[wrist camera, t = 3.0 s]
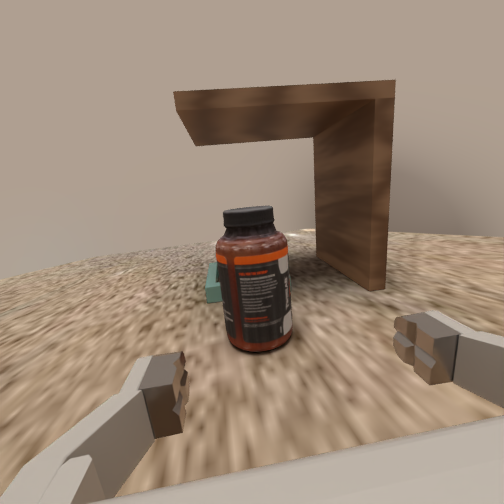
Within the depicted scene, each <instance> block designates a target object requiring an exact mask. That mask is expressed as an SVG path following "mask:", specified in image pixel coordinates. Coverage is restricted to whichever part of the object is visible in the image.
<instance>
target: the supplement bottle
mask: <svg viewBox="0 0 504 504" xmlns="http://www.w3.org/2000/svg"><path fill="white" fill-rule="evenodd" d="M223 217H224V226H225V227H226V232H225V234H224V236H223V237H221V238H220V239H219V240H218V242H217V244H216V258H217V266H218V273H219V280H220V288H221V295H222V302H223V309H224V316H225V324H226V330H227V335H228V338H229V340H230V342H231V343H232V344H233V345H235V346H236V347H238V348H240V349H243V350H246V351H253V352H258V351H267V350H271V349H274V348H277V347H278V346H281V345H282V344H284V343H285V342H286V341H287V340H288V339H289V338H290V336H291V334H292V311H291V308H292V307H291V293H290V278H289V258H288V246H287V240H286V237H285V236H284V235H283V234H282V233H281V232H278V231H276V229H275V226H274V224H273V222H274V216H273V207H272V206H256V207H246V208H237V209H231V210H226V211H224V212H223Z"/></svg>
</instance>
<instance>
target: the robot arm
mask: <svg viewBox="0 0 504 504" xmlns="http://www.w3.org/2000/svg"><path fill="white" fill-rule="evenodd" d="M394 328H395V329H396V331H397V333H396V334H395V336H394V337H393V346H394V349H395V351H396V353H397V355H398V356H399V358H400V359H401V360H402V361H403V362H404V363H407V364H409V365H411V366H413V368H414V372H415V373H416V374H418V375H419V376H420V377H421V378H422V379H423V380H424V381H425V382H426V383H427V384H429V385H435V384H441V383H448V382H453V383H454V384H456V385H458V386H460V387H462V388H464V389H466V390H468V391H470V392H472V393H474V394H476V395H478V396H480V397H482V398H484V399H486V400H488V401H490V402H492V403H494V404H496V405H498V406H500V407H502V408H504V337H502V336H498V335H494V334H490V333H486V332H482V331H479V332H476V331H474V330H472V329H471V328H469V327H467V326H465V325H463V324H461V323H459V322H457V321H455V320H454V319H452V318H450V317H448V316H446V315H444V314H442V313H440V312H439V311H434V310H432V311H426V312H421V313H418V314H412V315H406V316H401V317H396V319H395V321H394ZM185 362H186V361H185V356H184V353H183V352H182V351H181V352H174V353H167V354H160V355H154V356H153V355H152V356H146V357H140V358H138V359H137V360H136V362H135V364H134V366H133V367H132V369H131V371H130V373H129V375H128V377H127V379H126V381H125V382H124V384H123V386H122V388H121V390H120V392H119V394H115V395H113V396H111V397H110V398H109V399H108V400H106V401H105V402H104V403H102V404H101V405H100V406H99V407H97V408H96V409H95V410H94V411H92V412H91V413H90V414H89V415H87V416H86V417H85V418H83V419H82V420H81V421H80V422H78V423H77V424H76V425H75V426H73V427H72V428H71V429H70V430H68V431H67V432H66V433H64V434H63V435H62V436H61V437H59V438H58V439H57V440H56V441H54V442H53V443H52V444H51V445H49V446H48V447H47V448H45V449H44V450H43V451H42V452H40V453H39V454H38V455H37V456H35V457H34V458H33V459H32V460H30V461H29V462H28V463H26V464H25V465H24V466H23V467H22V469H21V470H20V471H19V473H18V474H17V476H16V477H15V478H14V480H13V481H12V482H11V484H10V485H9V486H8V488H7V489H6V490H5V492H4V493H3V494H2V496H1V497H0V504H504V415H502V416H498V417H493V418H488V419H483V420H479V421H474V422H469V423H464V424H460V425H455V426H450V427H445V428H441V429H436V430H431V431H426V432H421V433H417V434H412V435H407V436H403V437H398V438H393V439H388V440H384V441H379V442H374V443H370V444H365V445H360V446H355V447H351V448H346V449H341V450H337V451H332V452H327V453H322V454H318V455H313V456H308V457H304V458H299V459H294V460H289V461H285V462H280V463H275V464H271V465H266V466H261V467H256V468H252V469H247V470H242V471H238V472H233V473H228V474H223V475H219V476H214V477H209V478H205V479H200V480H195V481H190V482H186V483H181V484H176V485H171V486H167V487H162V488H157V489H153V490H148V491H143V492H138V493H134V494H129V495H124V496H120V497H115V498H114V496H115V495H116V494H117V492H118V491H119V490H120V488H121V487H122V485H123V484H124V483H125V481H126V480H127V479H128V477H129V476H130V474H131V473H132V472H133V470H134V469H135V468H136V466H137V465H138V463H139V462H140V461H141V459H142V458H143V456H144V455H145V454H146V452H147V451H148V450H149V448H150V447H151V445H152V444H153V443H154V441H155V439H157V438H162V437H166V436H171V435H175V434H180V433H183V429H184V423H185V418H186V410H185V405H186V404H187V402H188V400H189V386H190V385H189V376H188V372H187V371H186V370H185V369H184V367H185Z"/></svg>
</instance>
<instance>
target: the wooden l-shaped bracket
mask: <svg viewBox="0 0 504 504" xmlns="http://www.w3.org/2000/svg"><path fill="white" fill-rule="evenodd" d="M395 82H396V81H395V80H382V81H363V82H344V83H328V84H307V85H288V86H270V87H251V88H233V89H214V90H194V91H177V92H176V91H175V92H173V93H174V99H175V106H176V111H177V113H178V115H179V116H180V119H181V120H182V122H183V124H184V126H185V128H186V129H187V131H188V133H189V135H190V137H191V139H192V140H193V142H194V144H195V146H204V145H217V144H232V143H244V142H257V141H271V140H283V139H298V138H310V137H313V139H314V140H313V143H314V180H315V216H316V217H315V218H316V256H317V257H318V258H320V259H321V260H323V261H324V262H326V263H327V264H329V265H330V266H332V267H333V268H335V269H336V270H338V271H339V272H341V273H342V274H344V275H345V276H347V277H348V278H350V279H351V280H353V281H354V282H356V283H358V284H359V285H361V286H362V287H364V288H365V289H367V290H368V291H374V290H381V289H385V281H386V261H387V241H388V221H389V201H390V181H391V162H392V142H393V122H394V101H395Z"/></svg>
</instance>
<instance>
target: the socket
mask: <svg viewBox="0 0 504 504" xmlns="http://www.w3.org/2000/svg"><path fill="white" fill-rule="evenodd" d="M218 276H219V273H218V266H217V262H215V263H209V269H208V274H207V280H206V285H205V291H206V298H207V303H213V302H220V301H222V295H221V288H220V282H218ZM289 278H290V275H289ZM290 292H291V279H290Z"/></svg>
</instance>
